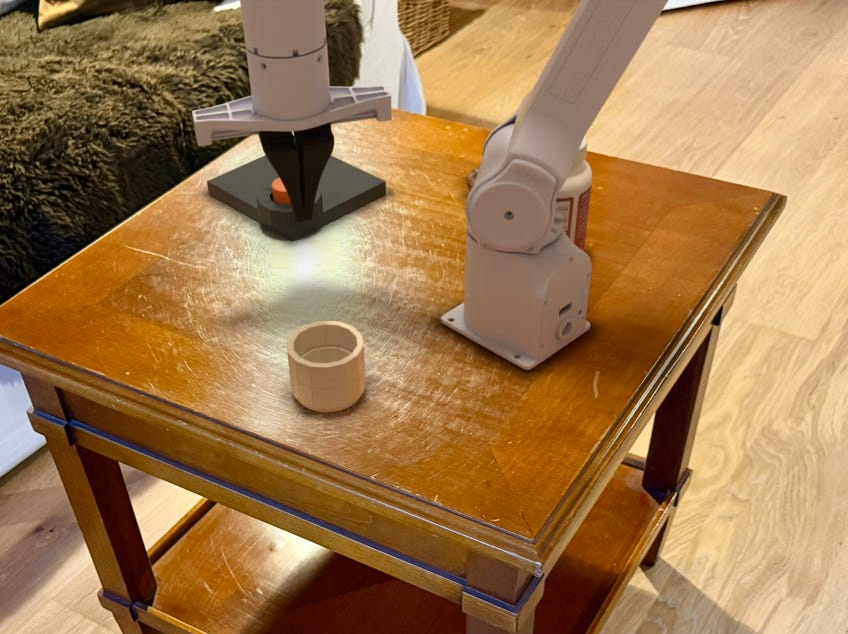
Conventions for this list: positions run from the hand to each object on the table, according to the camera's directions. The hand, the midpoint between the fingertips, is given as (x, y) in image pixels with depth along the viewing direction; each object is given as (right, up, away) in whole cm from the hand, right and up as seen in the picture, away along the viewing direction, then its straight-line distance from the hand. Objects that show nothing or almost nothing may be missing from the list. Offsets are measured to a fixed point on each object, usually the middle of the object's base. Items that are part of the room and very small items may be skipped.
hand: (302, 214), depth 80 cm
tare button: (-2, +5, +14) cm, 15 cm away
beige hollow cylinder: (+2, -14, -3) cm, 15 cm away
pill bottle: (+21, -2, +10) cm, 23 cm away
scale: (-2, +6, +20) cm, 21 cm away
